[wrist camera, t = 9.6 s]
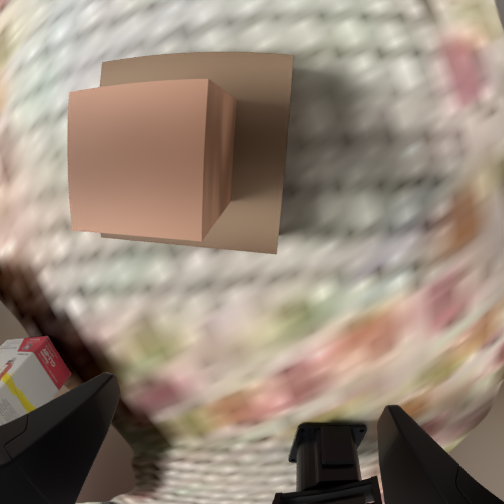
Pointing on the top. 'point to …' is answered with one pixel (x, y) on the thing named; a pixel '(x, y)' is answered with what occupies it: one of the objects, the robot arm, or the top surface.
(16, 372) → the ink box
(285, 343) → the top surface
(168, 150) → the terracotta cube
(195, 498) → the top surface
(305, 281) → the top surface
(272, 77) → the tan square slab
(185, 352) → the top surface
